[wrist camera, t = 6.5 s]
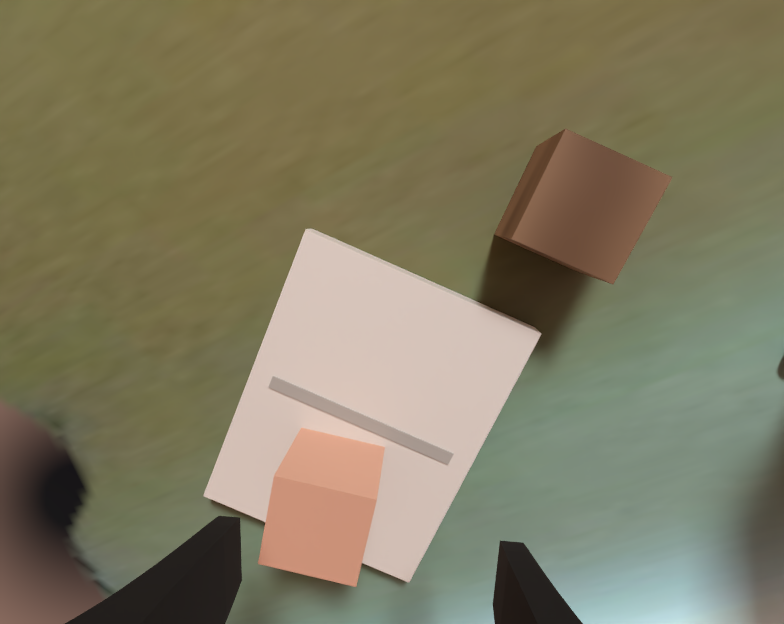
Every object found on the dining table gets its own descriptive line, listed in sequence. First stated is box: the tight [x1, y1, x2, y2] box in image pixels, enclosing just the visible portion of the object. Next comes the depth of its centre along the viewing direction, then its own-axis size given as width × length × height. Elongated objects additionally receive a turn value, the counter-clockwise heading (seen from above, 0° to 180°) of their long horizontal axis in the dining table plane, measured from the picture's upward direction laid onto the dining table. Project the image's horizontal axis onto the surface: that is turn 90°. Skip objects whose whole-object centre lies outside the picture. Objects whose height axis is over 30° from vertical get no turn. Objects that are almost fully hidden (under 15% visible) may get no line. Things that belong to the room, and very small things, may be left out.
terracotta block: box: [258, 428, 385, 587], centre depth 19 cm, size 4×4×4 cm
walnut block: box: [494, 129, 672, 284], centre depth 18 cm, size 4×4×4 cm
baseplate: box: [204, 229, 541, 582], centre depth 21 cm, size 11×14×1 cm
